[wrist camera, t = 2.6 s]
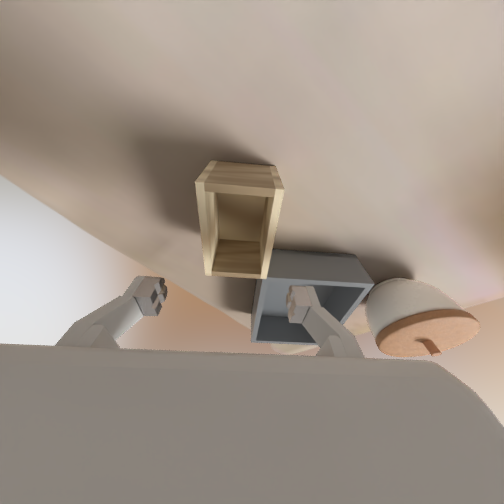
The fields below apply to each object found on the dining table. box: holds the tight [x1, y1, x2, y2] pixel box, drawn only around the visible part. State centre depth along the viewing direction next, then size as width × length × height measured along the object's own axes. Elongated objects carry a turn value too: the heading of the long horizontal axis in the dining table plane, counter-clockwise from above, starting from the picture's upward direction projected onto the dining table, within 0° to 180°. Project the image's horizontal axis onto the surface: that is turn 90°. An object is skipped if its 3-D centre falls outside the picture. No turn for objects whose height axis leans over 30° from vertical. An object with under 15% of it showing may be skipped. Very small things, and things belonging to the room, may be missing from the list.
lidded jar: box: [365, 278, 480, 357], centre depth 25 cm, size 11×11×9 cm
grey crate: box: [251, 249, 375, 345], centre depth 26 cm, size 15×12×5 cm
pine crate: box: [195, 160, 284, 279], centre depth 17 cm, size 9×6×6 cm, turn 175°
